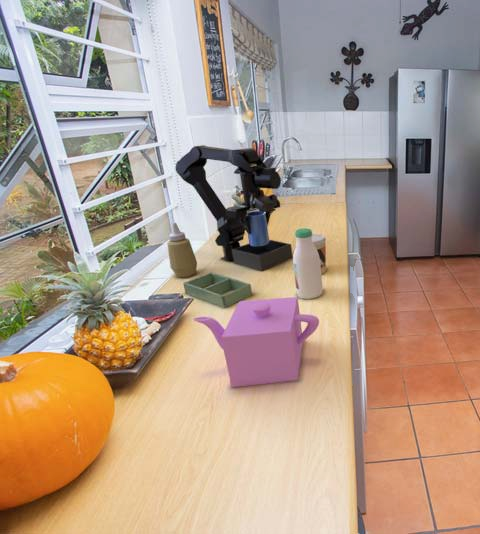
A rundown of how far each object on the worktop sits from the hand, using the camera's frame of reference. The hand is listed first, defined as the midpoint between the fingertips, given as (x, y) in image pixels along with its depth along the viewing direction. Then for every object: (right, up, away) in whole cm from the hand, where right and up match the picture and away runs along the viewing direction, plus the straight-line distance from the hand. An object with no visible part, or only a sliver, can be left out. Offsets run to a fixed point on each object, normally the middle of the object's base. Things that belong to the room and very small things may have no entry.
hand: (257, 231), depth 137 cm
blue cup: (0, -4, +2) cm, 5 cm away
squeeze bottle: (-22, -15, -6) cm, 28 cm away
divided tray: (-5, -21, -20) cm, 29 cm away
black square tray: (0, -10, +6) cm, 12 cm away
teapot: (+21, -34, -51) cm, 65 cm away
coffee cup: (+21, -14, -4) cm, 26 cm away
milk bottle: (+23, -21, -20) cm, 37 cm away
